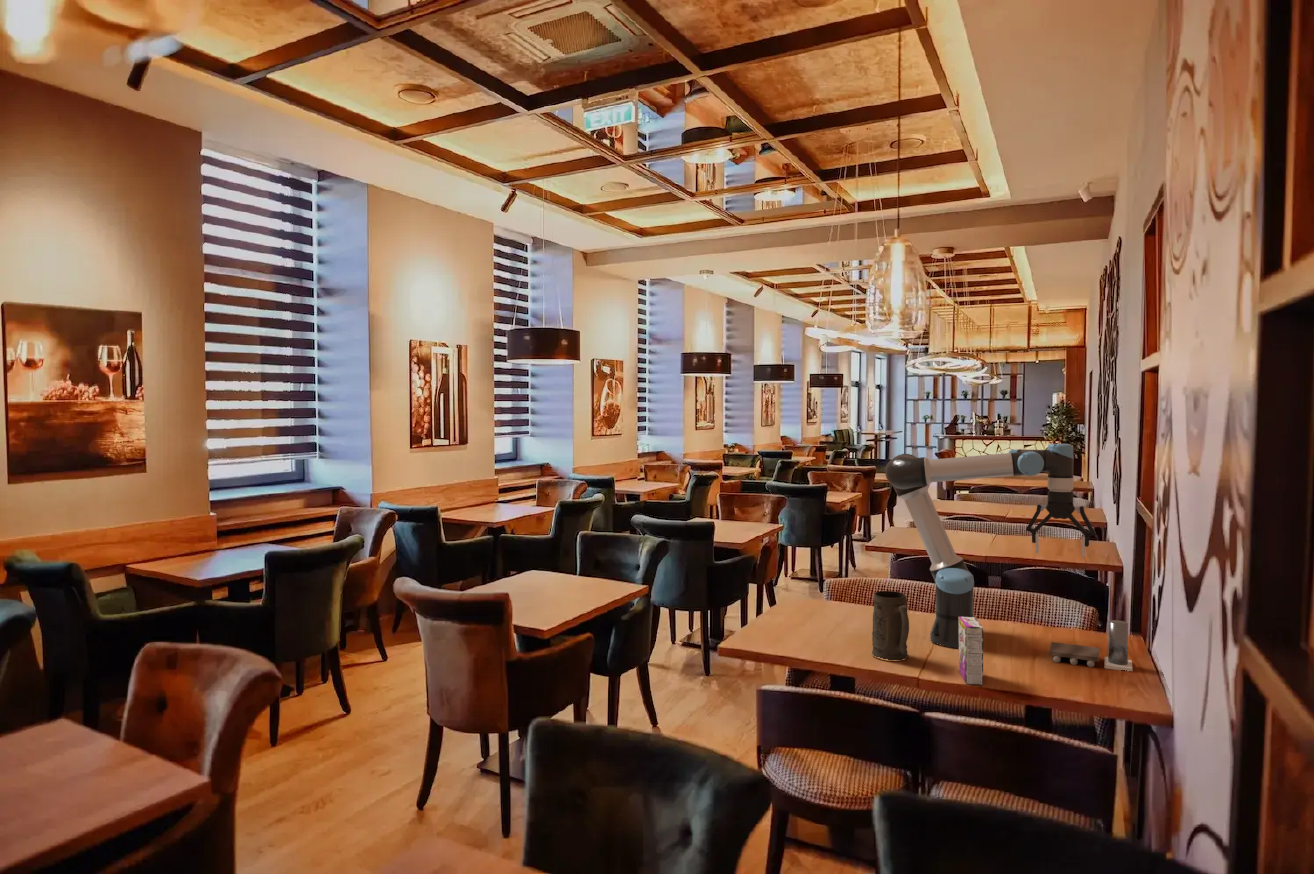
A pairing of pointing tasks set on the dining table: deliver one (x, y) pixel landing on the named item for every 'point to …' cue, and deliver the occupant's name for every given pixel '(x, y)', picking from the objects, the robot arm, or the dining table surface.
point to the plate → (1118, 667)
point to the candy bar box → (971, 650)
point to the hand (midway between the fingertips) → (1060, 554)
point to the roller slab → (1074, 653)
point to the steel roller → (1118, 642)
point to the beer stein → (890, 625)
